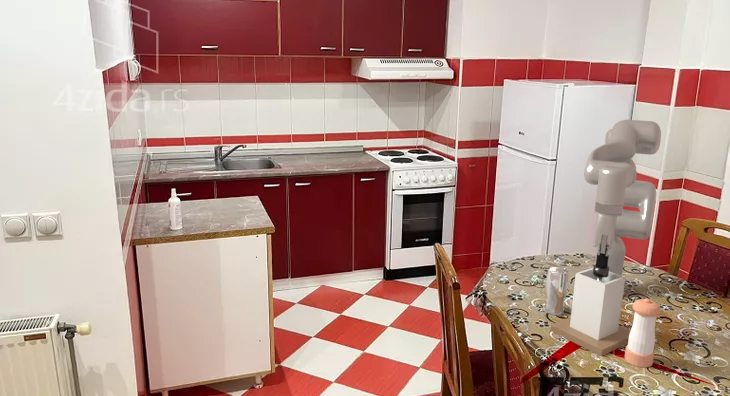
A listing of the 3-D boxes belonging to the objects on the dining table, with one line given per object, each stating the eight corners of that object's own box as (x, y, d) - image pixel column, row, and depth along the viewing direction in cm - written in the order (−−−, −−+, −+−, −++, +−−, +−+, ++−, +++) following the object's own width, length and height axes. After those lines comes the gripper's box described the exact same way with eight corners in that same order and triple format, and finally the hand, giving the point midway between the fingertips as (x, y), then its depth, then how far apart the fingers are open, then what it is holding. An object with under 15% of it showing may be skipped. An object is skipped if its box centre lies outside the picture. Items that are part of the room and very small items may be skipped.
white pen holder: (585, 316, 185) (592, 260, 179) (636, 339, 170) (645, 278, 165) (550, 330, 175) (556, 271, 170) (601, 356, 161) (609, 292, 155)
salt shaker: (619, 354, 162) (628, 294, 157) (643, 353, 162) (652, 293, 157) (633, 368, 155) (642, 305, 150) (658, 367, 155) (668, 304, 150)
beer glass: (566, 317, 184) (570, 275, 180) (544, 314, 185) (548, 273, 181) (563, 307, 190) (567, 267, 187) (542, 305, 192) (546, 265, 188)
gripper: (597, 201, 170) (590, 257, 175) (592, 213, 157) (585, 273, 162) (623, 204, 167) (616, 261, 171) (621, 216, 154) (613, 278, 158)
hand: (601, 267), depth 166 cm, fingers closed
